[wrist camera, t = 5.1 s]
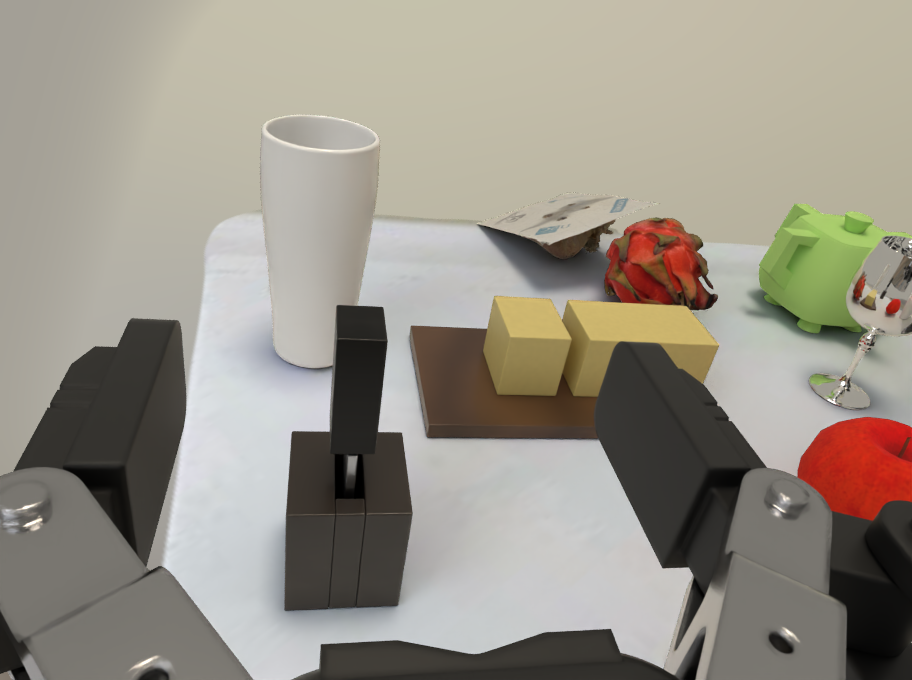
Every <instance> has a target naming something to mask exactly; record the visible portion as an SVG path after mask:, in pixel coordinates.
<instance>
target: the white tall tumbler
mask: <svg viewBox="0 0 912 680" xmlns="http://www.w3.org/2000/svg"><path fill="white" fill-rule="evenodd" d="M379 153H380V138H379V136H378V135H377V134H376V133H375V132H374V131H373V130H371V129H370V128H368V127H366V126H364V125H361V124H358V123H356V122H352V121H349V120H345V119H340V118H335V117H329V116H320V115H288V116H282V117H277V118H273V119H271V120H269V121H267V122H266V123H265V124H264V125H263V126H262V134H261V156H260V188H261V206H262V217H263V227H264V237H265V247H266V256H267V266H268V276H269V287H270V297H271V308H272V320H273V346H274V349H275V351H276V352H277V354H278V355H279V356H280V357H281V358H282V359H284V360H285V361H287V362H288V363H291V364H293V365H296V366H299V367H305V368H324V367H329V366H332V365H333V352H334V335H335V318H336V306H337V305H351V306H358V301H359V296H360V290H361V284H362V279H363V273H364V268H365V262H366V257H367V251H368V246H369V240H370V235H371V230H372V224H373V218H374V211H375V205H376V197H377V187H378V175H379Z"/></svg>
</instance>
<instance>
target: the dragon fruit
mask: <svg viewBox="0 0 912 680" xmlns="http://www.w3.org/2000/svg"><path fill="white" fill-rule="evenodd" d="M702 246H703V242H702V240H701V239H700V238H699V237H698V236H697V235H694V234H688V233H686V231H684V227H683V225H682V224H681V223H680V222H679V221H677V220H675V219H669V218H663V219H661V218H650V219H646V220H643V221H640V222H636V223H634V224H632V225H631V226H629V227H627V228H626V229H625V231H624V236H623V237H621V238H617V239H614V240H613V241H612V243H611V245H610V248H609V249H608V250H607V253H606V257H607V258H609V259H610V260H611V261H610V265H609V268H608V270H607V272H606V274H605V280H604V281H605V291H606V294H607V295H608V296H613V295H618V297H619V298H620V300H621V301H622V303H636V304H655V305H673V306H687V307H688V309H689V310H699V309H700V310H706V309H708V308H710V307H712V306H713V304H714V303H715V302H716V301H717V299H718V295H716V294H710V293H709V292H707V291H706V289H705V288H704V287H703V285H702V283H701V282H700V281H699V279H698V278H699V277H700V276H701V275H702V277H703V278H704V279H705V282H706V284H707V285H708V286H709V287H710V288H711V289H713V285H712V284H711V283H710V281H709V280H708V278H707V277H706V275H707V274H708V268H707V261H706V260H705V259H704V258H703V257H702V255H701V254H699V253H698V252H697V251H698V250H699V249H700V248H701V247H702ZM608 292H609V294H608Z"/></svg>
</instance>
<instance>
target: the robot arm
mask: <svg viewBox="0 0 912 680" xmlns="http://www.w3.org/2000/svg"><path fill="white" fill-rule="evenodd" d="M185 415H186V384H185V371H184V358H183V346H182V332H181V326H180V323H179V321H177V320H156V319H134V318H132V319H131V320H130V321H129V322H128V325H127V327H126V329H125V331H124V333H123V336H122V337H121V340H120V342H119V344H118V347H96V346H95V347H94V348H92V349H91V350H90V351H88V352H87V353H86V354H84V355H83V356H82V357H80V358H79V359H78V360H77V361H75V362H74V363H72V364H71V366H70V368H69V370H68V372H67V373H66V375H65V377H64V379H63V381H62V383H61V384H60V390H57V392H56V393H55V395H54V397H53V399H52V401H51V403H50V408H47V410H46V412H45V414H44V416H43V418H42V419H41V421H40V423H39V425H38V427H37V429H36V430H35V432H34V434H33V436H32V438H31V440H30V442H29V443H28V445H27V447H26V449H25V451H24V453H23V454H22V456H21V458H20V460H19V462H18V464H17V466H16V467H15V469H14V471H13V472H11V473H8V474H5V475H2V476H0V674H1V673H4V672H8V673H9V675H10V677H11V679H12V680H253V679H252V677H251V676H250V675H249V673H248V672H247V671H246V669H245V668H244V667H243V666H242V664H241V663H240V662H239V660H238V659H237V658H236V656H235V655H234V654H233V653H232V651H231V650H230V649H229V647H228V646H227V645H226V643H225V642H224V641H223V640H222V638H221V637H220V636H219V634H218V633H217V632H216V630H215V629H214V628H213V627H212V625H211V624H210V623H209V621H208V620H207V619H206V617H205V616H204V615H203V614H202V612H201V611H200V610H199V608H198V607H197V606H196V604H195V603H194V602H193V601H192V599H191V598H190V597H189V595H188V594H187V593H186V591H185V590H184V589H183V588H182V586H181V585H180V584H179V582H178V581H177V580H176V579H175V577H174V576H173V575H172V574H171V573H170V572H169V571H168V570H167V569H165V568H164V567H162V566H158V567H157V568H155V569H153V570H151V571H150V570H148V569H147V568H146V566H147V562H148V558H149V554H150V551H151V547H152V544H153V540H154V536H155V532H156V529H157V525H158V521H159V518H160V514H161V510H162V506H163V503H164V499H165V495H166V491H167V488H168V484H169V480H170V477H171V473H172V469H173V465H174V462H175V458H176V454H177V451H178V447H179V443H180V439H181V436H182V432H183V428H184V423H185ZM728 419H729V417H728V416H727V415H726V413H725V412H724V411H723V409H722V408H721V407H720V406H717V401H716V400H715V399H714V397H713V396H712V395H711V394H710V392H709V391H708V390H707V388H706V387H705V386H704V385H703V384H702V383H701V382H699V381H698V380H697V379H695V378H694V377H693V376H691V375H690V374H689V373H687V372H686V371H685V370H683V369H678V367H677V366H676V365H675V363H674V362H673V361H672V359H671V358H670V356H669V355H668V354H667V352H666V351H665V350H664V348H663V347H662V346H661V345H660V344H659V343H651V342H629V341H621V342H619V343H617V345H616V346H615V347H614V349H613V352H612V355H611V358H610V361H609V364H608V367H607V370H606V373H605V376H604V379H603V382H602V385H601V388H600V391H599V394H598V397H597V400H596V404H595V408H594V426H595V431H596V434H597V436H598V438H599V440H600V442H601V444H602V447H603V449H604V451H605V453H606V455H607V457H608V459H609V461H610V463H611V465H612V467H613V469H614V471H615V473H616V475H617V477H618V479H619V481H620V483H621V485H622V487H623V489H624V491H625V493H626V495H627V497H628V499H629V501H630V503H631V505H632V507H633V509H634V511H635V513H636V515H637V517H638V520H639V522H640V524H641V526H642V528H643V530H644V532H645V534H646V536H647V538H648V540H649V542H650V544H651V546H652V548H653V550H654V552H655V554H656V556H657V558H658V560H659V562H660V564H661V566H662V568H684V567H689V568H690V570H691V572H692V574H693V577H692V579H691V581H690V583H689V585H688V587H687V589H686V592H685V596H684V599H683V603H682V606H681V610H680V613H679V617H678V620H677V624H676V627H675V631H674V634H673V638H672V641H671V645H670V648H669V652H668V655H667V659H666V662H665V665H664V668H663V669H662V668H660V667H658V666H656V665H654V664H652V663H649V662H647V661H645V660H642V659H639V658H636V657H633V656H630V655H627V654H622V653H620V651H619V649H618V646H617V644H616V641H615V638H614V636H613V633H612V631H611V629H602V630H583V631H565V632H546V633H542V634H539V635H536V636H533V637H530V638H527V639H524V640H521V641H518V642H515V643H512V644H509V645H506V646H503V647H500V648H497V649H494V650H491V651H488V652H485V653H481V654H467V653H462V652H456V651H451V650H446V649H440V648H435V647H430V646H424V645H419V644H414V643H409V642H403V641H398V640H395V641H377V642H358V643H339V644H321V651H320V665H319V669H318V670H315V671H312V672H309V673H306V674H303V675H301V676H299V677H296V678H294V679H292V680H912V643H911V642H912V502H909V501H903V500H894V501H889V502H887V503H885V504H884V505H883V507H882V508H881V510H880V511H879V512H878V514H877V515H876V517H875V518H874V520H873V521H872V520H867V519H863V518H859V517H855V516H851V515H847V514H843V513H839V512H834V511H831V509H830V507H829V505H828V503H827V502H826V500H825V499H824V498H823V496H822V495H821V494H820V493H819V492H818V491H817V490H815V489H814V488H813V487H812V486H810V485H809V484H808V483H806V482H805V481H803V480H801V479H799V478H798V477H796V476H793V475H791V474H789V473H786V472H783V471H780V470H776V469H770V468H767V467H766V466H765V465H764V463H763V462H762V461H761V459H760V458H759V457H758V455H757V454H756V453H755V451H754V450H753V449H752V447H751V446H750V445H749V444H748V442H747V441H746V440H745V438H744V437H743V436H742V434H741V433H740V432H739V430H738V429H737V428H736V426H735V425H734V424H733V422H732V421H729V420H728Z"/></svg>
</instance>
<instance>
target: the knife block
mask: <svg viewBox="0 0 912 680" xmlns="http://www.w3.org/2000/svg"><path fill="white" fill-rule="evenodd" d="M342 468H343V454H330V432H303V431H293V432H292V437H291V452H290V466H289V480H288V495H287V509H286V548H285V607H284V609H285V610H306V609H327V608H328V607H329V608H346V607H355V606H356V607H372V606H395V605H398V602H399V596H400V589H401V583H402V577H403V571H404V565H405V558H406V552H407V546H408V540H409V533H410V527H411V521H412V515H413V513H412V505H411V497H410V490H409V482H408V474H407V467H406V459H405V452H404V444H403V436H402V433H398V432H378V434H377V443H376V452H375V454H358V460H357V471H356V482H355V493H354V499H340V494H341V481H342Z"/></svg>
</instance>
